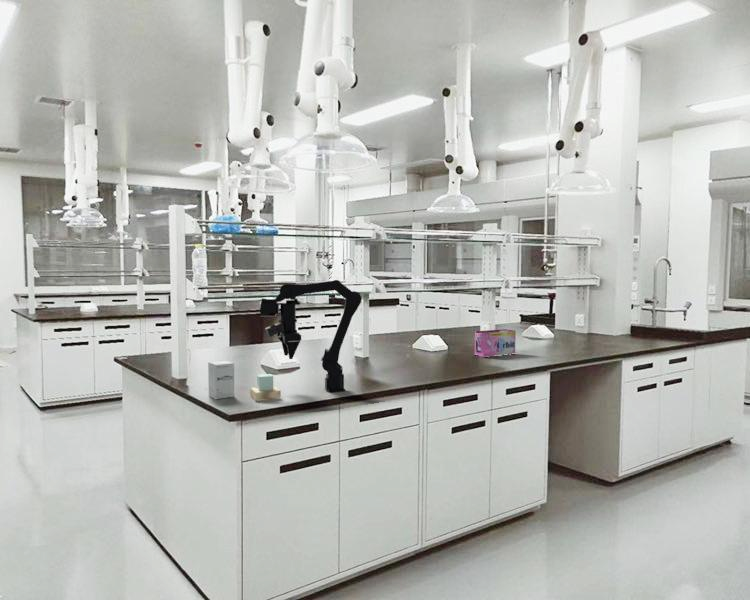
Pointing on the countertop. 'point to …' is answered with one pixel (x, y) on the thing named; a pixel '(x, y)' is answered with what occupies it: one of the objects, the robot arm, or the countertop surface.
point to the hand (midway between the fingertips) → (288, 357)
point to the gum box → (494, 342)
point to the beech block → (265, 394)
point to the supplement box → (221, 379)
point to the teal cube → (265, 382)
